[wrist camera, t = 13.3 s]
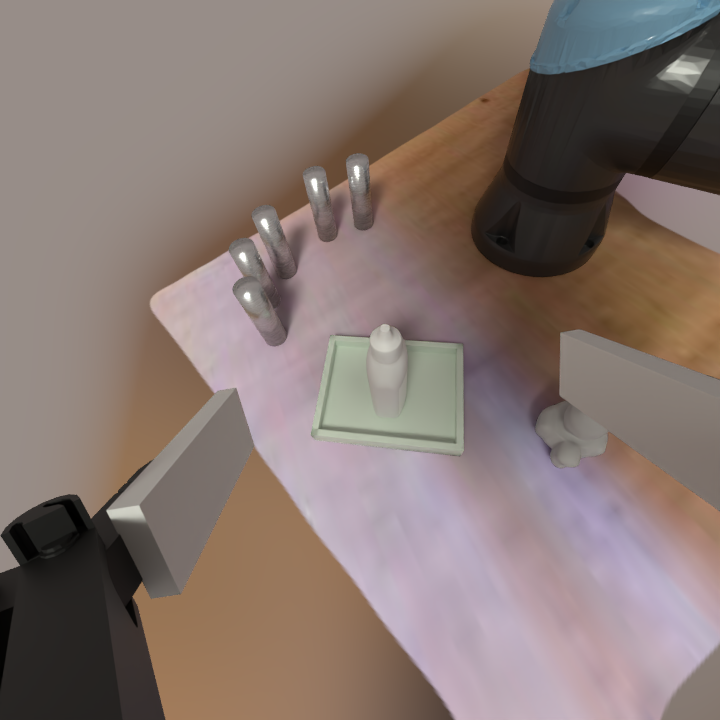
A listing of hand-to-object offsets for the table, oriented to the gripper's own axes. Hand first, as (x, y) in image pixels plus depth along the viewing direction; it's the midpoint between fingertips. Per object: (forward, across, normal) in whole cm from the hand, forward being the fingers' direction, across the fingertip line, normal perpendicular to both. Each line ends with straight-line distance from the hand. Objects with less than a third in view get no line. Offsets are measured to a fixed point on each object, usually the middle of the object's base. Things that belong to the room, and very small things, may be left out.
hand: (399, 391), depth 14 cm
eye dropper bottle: (+19, 0, -9) cm, 21 cm away
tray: (+20, 0, -9) cm, 22 cm away
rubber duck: (+15, +15, -14) cm, 26 cm away
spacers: (+32, -6, +3) cm, 33 cm away
